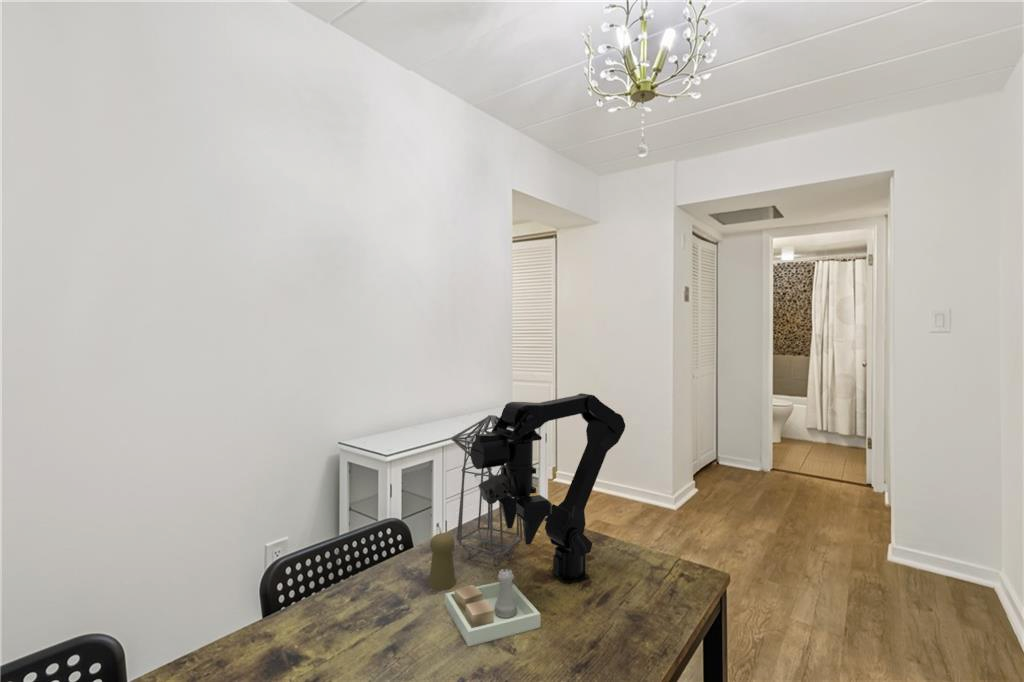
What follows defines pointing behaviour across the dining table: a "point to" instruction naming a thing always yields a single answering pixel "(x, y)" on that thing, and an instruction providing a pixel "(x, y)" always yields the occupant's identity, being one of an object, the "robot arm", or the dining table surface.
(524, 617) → the tray
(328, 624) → the dining table surface
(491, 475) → the geometric lantern
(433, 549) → the cork
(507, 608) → the rook chess piece
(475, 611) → the beech block
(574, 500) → the robot arm
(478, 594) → the beech block
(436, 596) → the dining table surface
